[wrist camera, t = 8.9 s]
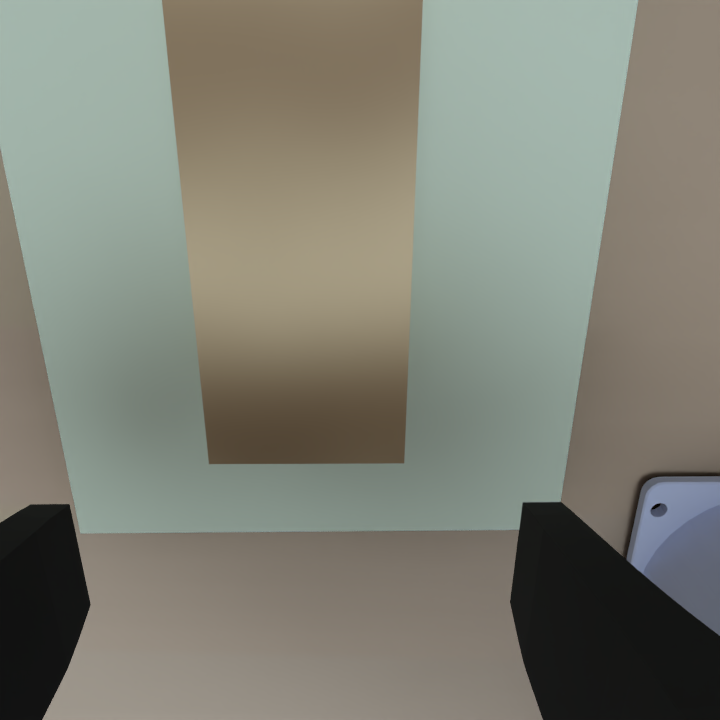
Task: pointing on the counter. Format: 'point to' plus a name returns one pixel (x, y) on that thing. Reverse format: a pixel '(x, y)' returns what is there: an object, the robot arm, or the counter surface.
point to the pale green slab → (429, 268)
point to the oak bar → (299, 220)
